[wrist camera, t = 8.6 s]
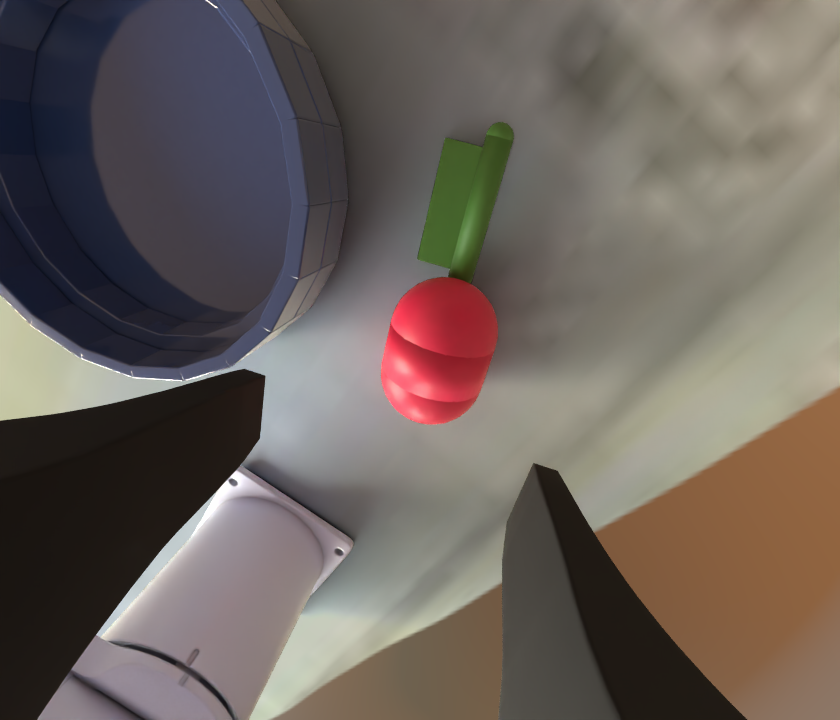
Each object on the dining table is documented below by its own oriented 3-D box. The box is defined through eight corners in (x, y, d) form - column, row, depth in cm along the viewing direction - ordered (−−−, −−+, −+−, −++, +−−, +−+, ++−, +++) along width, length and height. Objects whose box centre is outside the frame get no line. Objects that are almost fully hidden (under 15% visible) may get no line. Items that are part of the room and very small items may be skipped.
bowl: (262, 401, 22) (211, 446, 18) (-2, 222, 21) (-111, 232, 17) (427, 107, 15) (398, 88, 12) (48, -178, 14) (-112, -295, 11)
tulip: (472, 405, 19) (461, 459, 16) (387, 379, 20) (358, 425, 16) (562, 140, 15) (576, 131, 11) (449, 111, 15) (427, 94, 11)
